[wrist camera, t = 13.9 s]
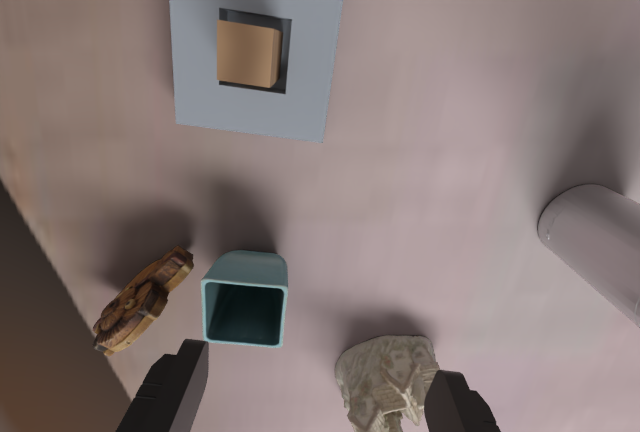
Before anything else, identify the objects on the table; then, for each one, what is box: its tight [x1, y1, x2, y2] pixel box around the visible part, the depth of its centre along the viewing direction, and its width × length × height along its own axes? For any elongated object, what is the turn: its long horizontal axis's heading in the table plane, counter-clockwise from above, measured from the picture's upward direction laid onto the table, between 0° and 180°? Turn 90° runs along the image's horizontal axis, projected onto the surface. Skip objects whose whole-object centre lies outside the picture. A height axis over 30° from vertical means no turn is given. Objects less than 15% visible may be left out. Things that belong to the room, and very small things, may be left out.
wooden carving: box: [93, 245, 194, 356], centre depth 40 cm, size 16×5×10 cm, turn 136°
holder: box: [169, 0, 343, 143], centre depth 31 cm, size 14×14×4 cm
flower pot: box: [201, 250, 288, 348], centre depth 40 cm, size 9×9×9 cm
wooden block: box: [217, 20, 283, 88], centre depth 28 cm, size 4×4×8 cm
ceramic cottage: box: [335, 335, 440, 432], centre depth 47 cm, size 16×16×15 cm
